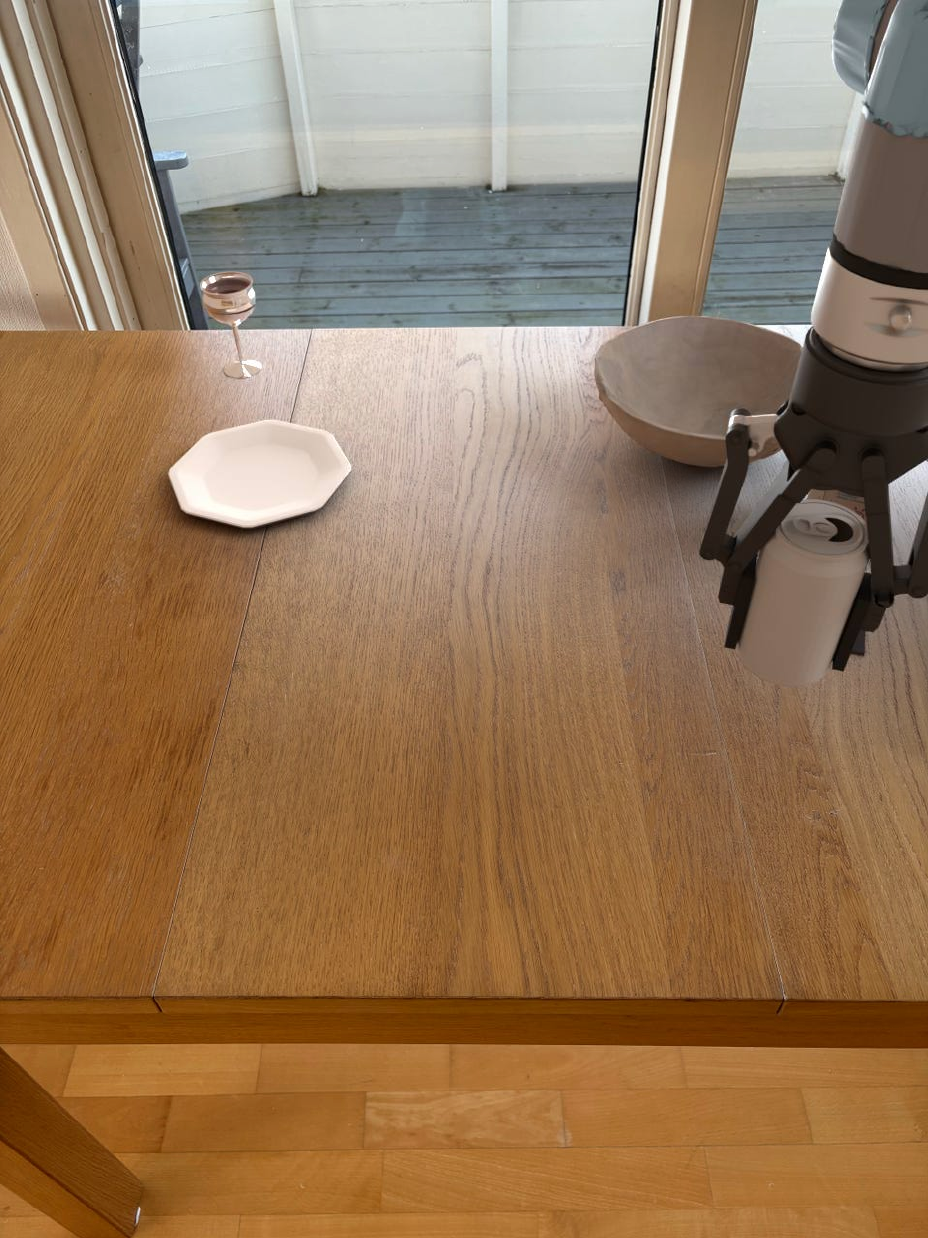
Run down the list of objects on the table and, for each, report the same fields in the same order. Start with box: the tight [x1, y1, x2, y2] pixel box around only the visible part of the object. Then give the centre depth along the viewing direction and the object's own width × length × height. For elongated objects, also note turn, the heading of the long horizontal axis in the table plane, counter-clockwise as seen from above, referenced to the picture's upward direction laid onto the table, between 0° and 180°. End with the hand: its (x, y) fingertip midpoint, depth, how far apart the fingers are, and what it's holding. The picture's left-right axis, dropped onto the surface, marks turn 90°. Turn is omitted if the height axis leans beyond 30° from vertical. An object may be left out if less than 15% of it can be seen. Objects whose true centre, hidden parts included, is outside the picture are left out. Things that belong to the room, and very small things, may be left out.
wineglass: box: [199, 271, 262, 379], centre depth 124 cm, size 7×7×12 cm
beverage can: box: [735, 498, 870, 688], centre depth 62 cm, size 6×6×12 cm
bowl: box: [593, 315, 803, 468], centre depth 111 cm, size 26×26×10 cm
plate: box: [167, 419, 352, 530], centre depth 109 cm, size 20×20×2 cm
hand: (784, 645), depth 65 cm, fingers closed on beverage can, 6 cm apart
